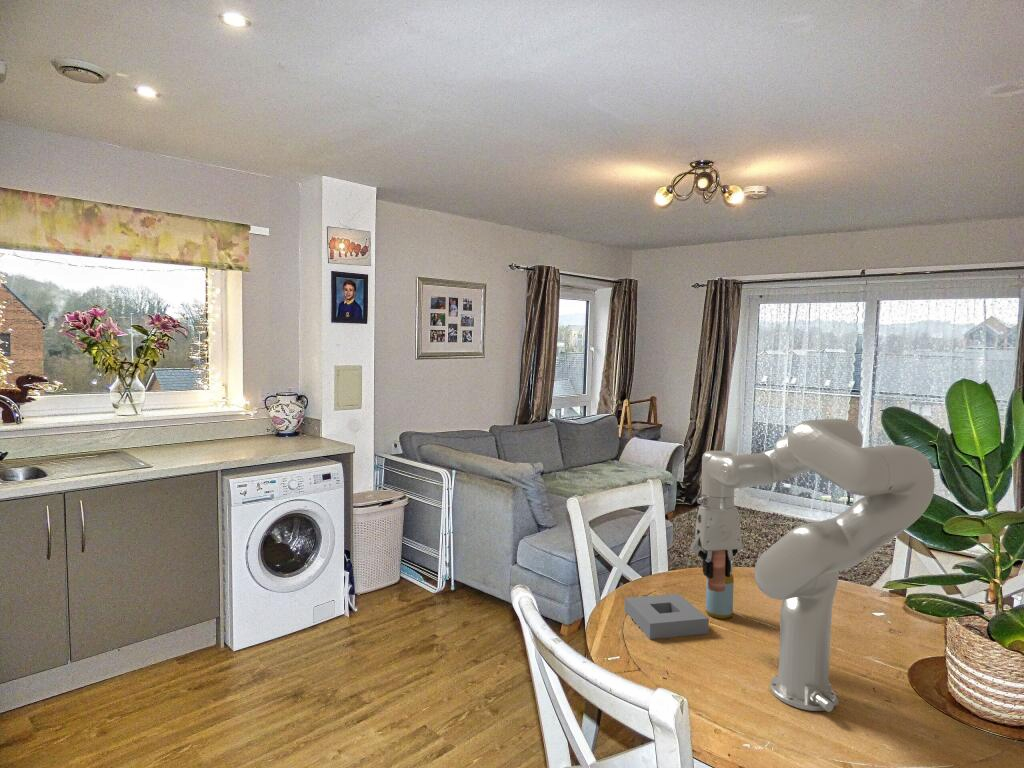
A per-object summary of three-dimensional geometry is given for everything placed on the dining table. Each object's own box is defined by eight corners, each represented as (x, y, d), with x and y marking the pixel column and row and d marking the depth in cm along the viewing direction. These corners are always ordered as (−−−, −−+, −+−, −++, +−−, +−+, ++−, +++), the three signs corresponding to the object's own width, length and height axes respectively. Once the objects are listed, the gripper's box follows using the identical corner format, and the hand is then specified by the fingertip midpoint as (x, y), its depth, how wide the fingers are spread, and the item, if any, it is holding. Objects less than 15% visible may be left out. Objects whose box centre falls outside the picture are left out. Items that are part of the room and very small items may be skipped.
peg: (728, 590, 149) (728, 542, 149) (713, 592, 148) (714, 543, 148) (719, 585, 153) (720, 537, 153) (704, 586, 152) (705, 538, 152)
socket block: (708, 633, 156) (708, 618, 156) (649, 639, 153) (650, 623, 153) (678, 607, 172) (678, 593, 172) (624, 612, 168) (624, 598, 168)
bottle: (736, 620, 164) (737, 565, 164) (709, 619, 165) (711, 564, 164) (727, 609, 171) (729, 556, 170) (702, 608, 171) (703, 555, 171)
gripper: (694, 507, 145) (693, 584, 145) (757, 503, 148) (756, 578, 149) (678, 500, 152) (678, 573, 153) (739, 496, 155) (738, 568, 156)
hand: (716, 575), depth 151 cm, fingers closed on peg, 4 cm apart
